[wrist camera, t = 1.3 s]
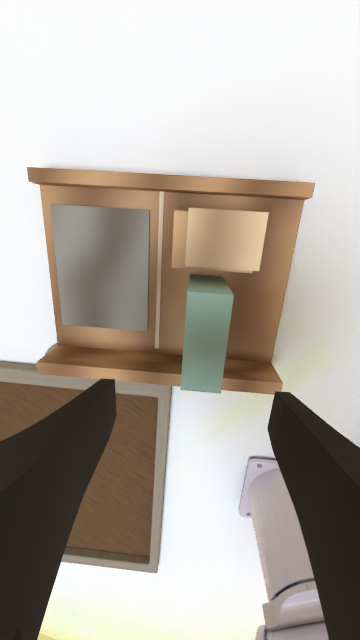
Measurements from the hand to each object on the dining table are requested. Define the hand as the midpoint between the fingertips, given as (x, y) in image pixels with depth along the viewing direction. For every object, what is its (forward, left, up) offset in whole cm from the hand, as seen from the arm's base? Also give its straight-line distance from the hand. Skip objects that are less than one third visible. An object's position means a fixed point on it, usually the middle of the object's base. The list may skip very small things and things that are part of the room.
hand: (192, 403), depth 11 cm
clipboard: (+11, +18, -11) cm, 23 cm away
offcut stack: (-1, -7, -9) cm, 12 cm away
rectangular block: (-1, -1, -9) cm, 9 cm away
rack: (+2, -4, -10) cm, 11 cm away
